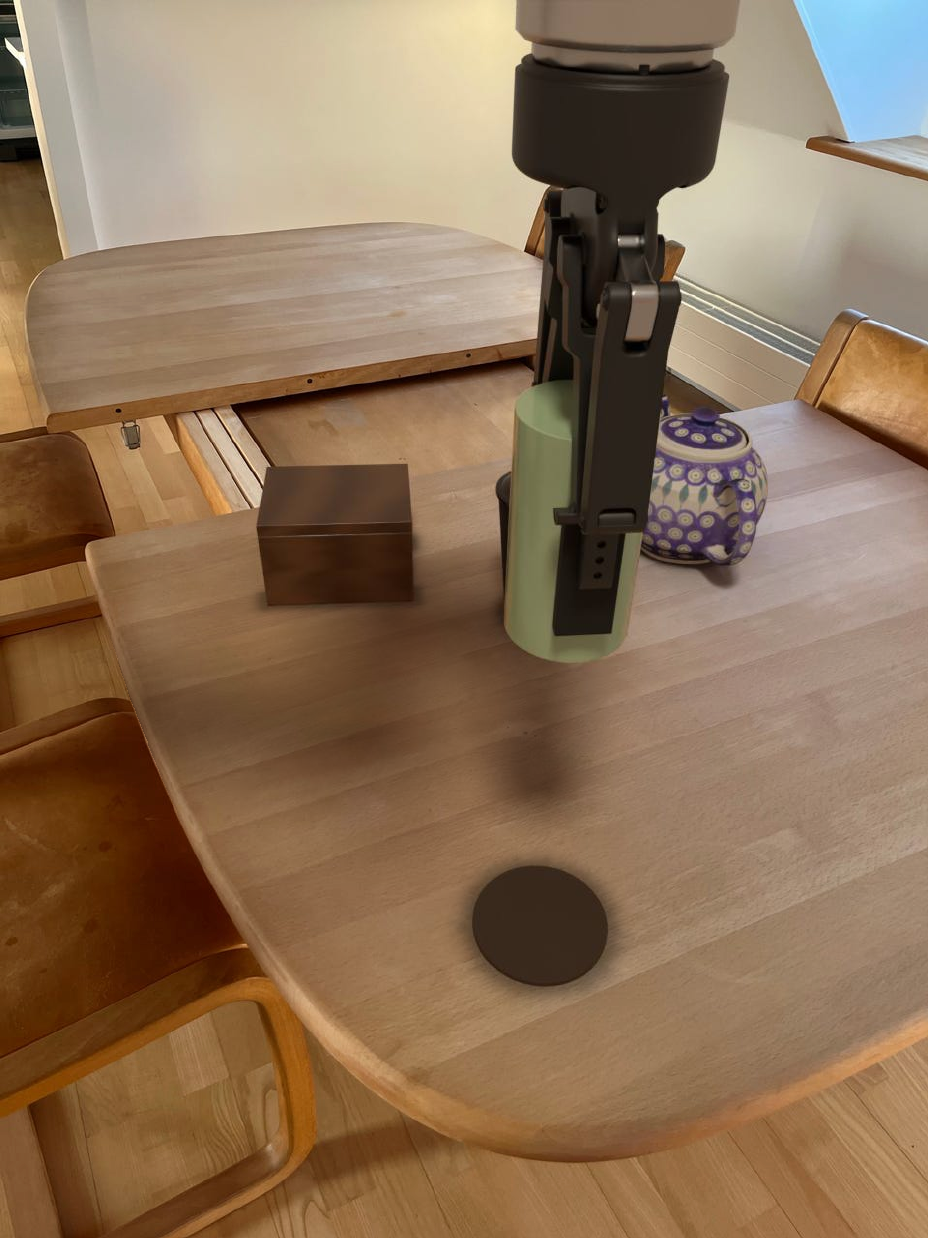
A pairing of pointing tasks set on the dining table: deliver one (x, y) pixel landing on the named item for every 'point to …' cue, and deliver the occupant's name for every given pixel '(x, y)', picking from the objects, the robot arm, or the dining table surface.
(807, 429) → the dining table surface
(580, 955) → the coaster
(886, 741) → the dining table surface
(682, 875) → the dining table surface
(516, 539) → the canister
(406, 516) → the walnut chest
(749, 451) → the teapot
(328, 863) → the dining table surface
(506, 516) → the drinking cup
